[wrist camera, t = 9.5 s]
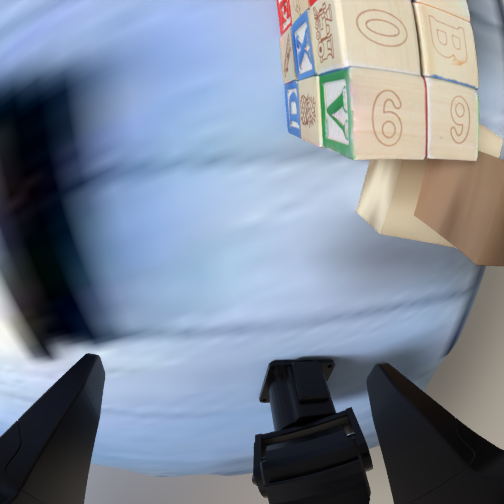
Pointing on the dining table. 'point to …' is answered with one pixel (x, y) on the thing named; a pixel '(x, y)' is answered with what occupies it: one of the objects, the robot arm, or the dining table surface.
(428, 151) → the stack of blocks
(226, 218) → the dining table surface
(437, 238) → the birch block
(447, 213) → the walnut cube
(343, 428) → the robot arm
